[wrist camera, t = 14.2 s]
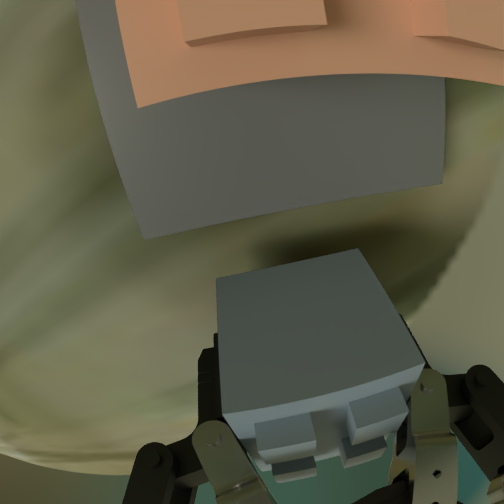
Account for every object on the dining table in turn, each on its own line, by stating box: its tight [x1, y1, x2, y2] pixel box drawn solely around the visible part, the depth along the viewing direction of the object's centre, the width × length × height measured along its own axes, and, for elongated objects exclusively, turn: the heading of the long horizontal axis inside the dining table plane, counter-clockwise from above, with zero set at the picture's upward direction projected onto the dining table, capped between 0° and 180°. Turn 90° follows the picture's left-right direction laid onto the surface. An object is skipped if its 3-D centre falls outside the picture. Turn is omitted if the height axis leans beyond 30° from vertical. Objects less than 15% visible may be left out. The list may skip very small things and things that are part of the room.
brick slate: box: [216, 248, 425, 483], centre depth 10 cm, size 6×5×6 cm
